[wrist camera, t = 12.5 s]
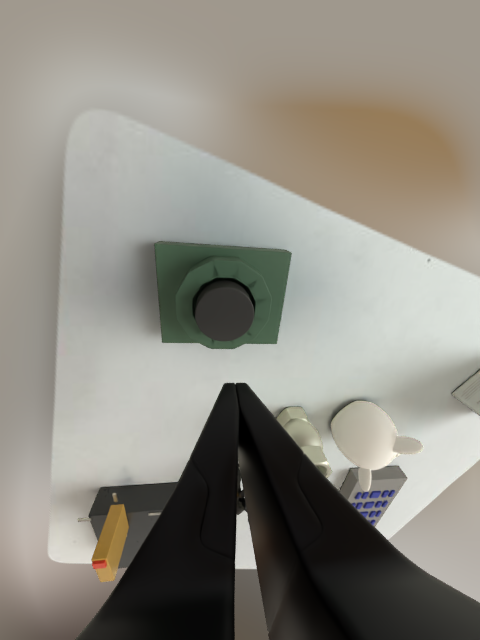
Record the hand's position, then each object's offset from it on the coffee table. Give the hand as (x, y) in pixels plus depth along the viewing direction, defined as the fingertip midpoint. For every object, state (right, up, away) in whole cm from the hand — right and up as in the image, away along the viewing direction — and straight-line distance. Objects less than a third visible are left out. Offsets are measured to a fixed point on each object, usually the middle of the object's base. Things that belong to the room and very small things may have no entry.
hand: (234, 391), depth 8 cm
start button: (-1, +4, +8) cm, 9 cm away
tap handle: (-14, -20, +18) cm, 30 cm away
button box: (-1, +5, +11) cm, 12 cm away
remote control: (+19, -29, +29) cm, 45 cm away
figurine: (+14, -9, +20) cm, 26 cm away
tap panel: (-12, -23, +23) cm, 35 cm away
